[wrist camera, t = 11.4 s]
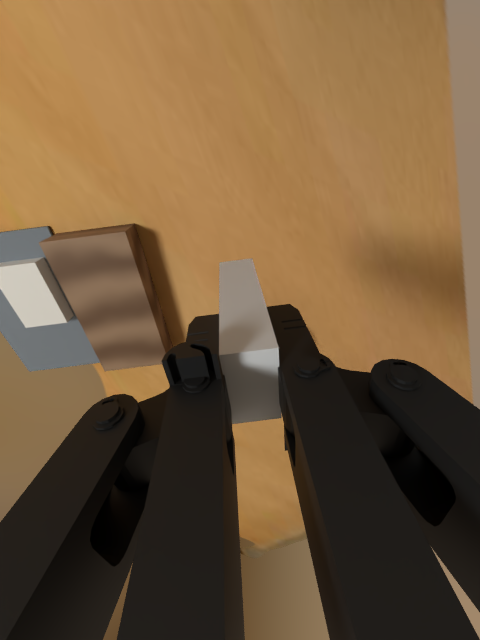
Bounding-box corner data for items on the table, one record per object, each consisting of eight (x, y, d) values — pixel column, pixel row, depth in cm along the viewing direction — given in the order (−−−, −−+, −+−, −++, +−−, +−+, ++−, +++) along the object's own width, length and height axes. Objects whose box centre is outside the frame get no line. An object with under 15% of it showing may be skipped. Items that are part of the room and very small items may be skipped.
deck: (56, 233, 34) (38, 242, 31) (134, 223, 34) (125, 231, 31) (113, 354, 45) (104, 371, 41) (172, 347, 45) (168, 363, 41)
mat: (-62, 240, 34) (-65, 241, 33) (48, 225, 34) (47, 226, 33) (30, 369, 45) (29, 371, 45) (112, 359, 45) (111, 361, 45)
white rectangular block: (34, 262, 33) (43, 257, 35) (-13, 268, 34) (-2, 262, 35) (67, 322, 38) (73, 315, 40) (25, 327, 38) (33, 320, 40)
